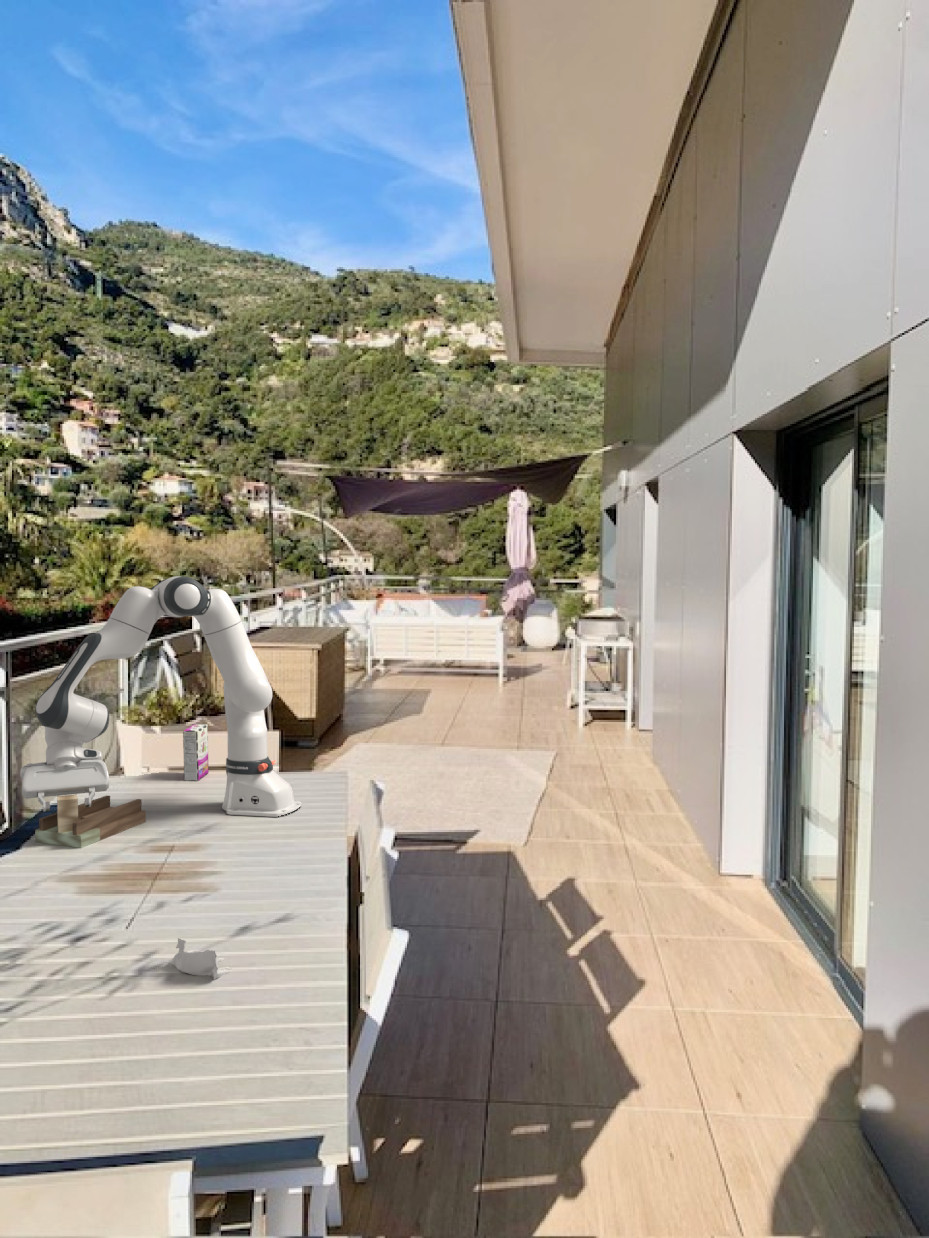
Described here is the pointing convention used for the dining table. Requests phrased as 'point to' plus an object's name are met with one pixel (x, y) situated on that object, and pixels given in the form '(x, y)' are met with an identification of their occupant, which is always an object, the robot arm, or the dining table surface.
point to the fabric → (197, 962)
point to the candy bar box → (195, 752)
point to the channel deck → (92, 823)
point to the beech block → (67, 812)
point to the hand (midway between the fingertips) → (67, 807)
